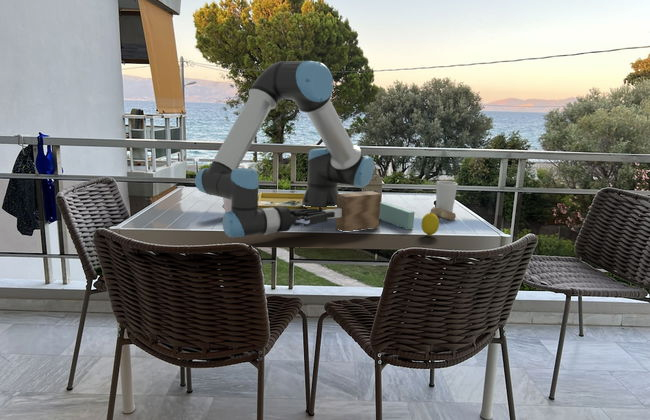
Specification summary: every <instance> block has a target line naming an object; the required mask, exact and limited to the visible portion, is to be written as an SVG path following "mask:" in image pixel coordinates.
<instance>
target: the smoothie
mask: <svg viewBox="0 0 650 420" xmlns="http://www.w3.org/2000/svg"><path fill="white" fill-rule="evenodd" d="M222 200H223V201H222V202H223V209H224V214H225V213H226V212H229V211H231V199H227V198H223V197H222Z"/></svg>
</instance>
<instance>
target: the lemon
mask: <svg viewBox="0 0 650 420" xmlns="http://www.w3.org/2000/svg"><path fill="white" fill-rule="evenodd" d="M420 226H421V229H422V232H424V234H426V235H427V236H428V237H431V236H432V235H434V234H436V233H437V232H438V231H439V227H440V220H439V216H436V215H435V214H433V213H432V212H431V211H430V212H428V213H427V214H425V215H424V216H423V218H422V219H421V225H420Z"/></svg>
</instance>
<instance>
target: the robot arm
mask: <svg viewBox="0 0 650 420" xmlns="http://www.w3.org/2000/svg"><path fill="white" fill-rule="evenodd" d="M333 81H334V78H333V75H332V73H331V71H330V69H329V68H328V67H327V65H325V64H324V63H322V62H320V61H314V60H313V61H312V60H305V61H302V60H299V61H297V60H296V61H295V60H293V61H289V60H288V61H287V60H281V61H277V62H275V63H272V64H271V65H270V66H268V67H267V68H265V69H264V71H263V72H261V73H260V75H259V76H258V77H257V78H256V80H255V81H254V82H253V84H252V85H251V87H250V89H249V91H248V96H249V97H248V99H247V101H246V102H245V104H244V105H243V107H242V109H241V111H240V113H239V115H238V116H237V118H236V119H235V121H234V122H233V125H232V127H231V128H230V131H229V132H228V133H227V135H226V137H225V139H224V140H223V142H222V144H221V146H220V148H219V149H218V151H217V153H216V155H215V157H214V159H212V162H211V164H210V165H209V167H206V168H201V169H200V170H198V171H197V173H196V175H195V179H194V183H195V187H196V189H198V191H200V192H202V193H203V194H206V195H209V196H213V197H214V196H216V197H220V198H222V199H223V198H227V199H231V211H229V212H226V213H225V212H224V214H223V216H222V217H223V218H222V228H223V232H224V234H225V236H227V237H228V238H245V237H251V236H257V235H259V236H260V235H264V236H267V235H268V234H273V233H281V232H282V233H284V232H288V231H289V230H290V229H291V227H292V226H295V227H296V226H300V225H303V226H304V227H309V226H312V225H315V224H321V223H326V222H327V221H328V220H329V219H336V218H339V217H342V209H341V208H335V209H326V210H322V208H321V207H327V206H335V205H337V194H340V193H339V189H338V184H339V185H344V186H349V187H354V188H365V187H366V186H367V185H368V184H369V183H370V182H371V180H372V178H373V175H374V170H375V162H374V159H373V157H371V156H369V155H364V154H363V152H362V150H361V148H360V147H359V146H358V145H356V144H353V141H352V139H351V138H350V136H349V135H348V132H347V130H346V128H345V127H344V125H343V122H342V120H341V119H340V116H339V115H338V113H337V110H336V109H335V106H334V105H333V103H332V101H331V98H332V93H333V90H334V83H333ZM284 100H289V101H290V100H291V101H293V102H295V103H294V104H296V107H297V108H298V110H299V111H300V112H302V113H306V114H307V116H308V118H309V119H310V121H311V122H312V124H313V126H314V128H315V130H316V132H317V133H318V135H319V137H320V139H321V140H322V142H323V144H324V145H325V147H324V148H323V147H322V148H312V149H310V150H309V151H308V159H307V185H306V186H307V187H306V189H305V192H304V194H303V198H302V200H301V201H302V202H301V204H303V205H305V206H311V207H319V210H317V209H305V208H302V209H301V208H299V209H298V208H296V209H292V208H288V207H286V206H275V207H266V208H265V207H264V208H259V187H260V186H259V185H260V184H259V173H258V171H257V170H256V169H253V168H249V167H248V168H247V167H240V165H241V163H242V161H243V159H244V158H245V156H246V154H247V152H248V150H249V149H250V147H251V146H252V143H253V142H254V140H255V138H256V137H257V134H258V133H259V131H260V129H261V127H262V125H263V124H264V122H265V120H266V118H267V116H268V115H269V113H270V111H271V110H274V109H275V108H276V107H277V105H278V104H279V103H280V102H281V101H284Z"/></svg>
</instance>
